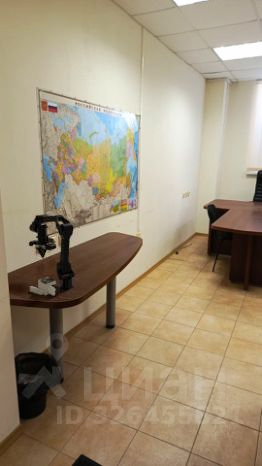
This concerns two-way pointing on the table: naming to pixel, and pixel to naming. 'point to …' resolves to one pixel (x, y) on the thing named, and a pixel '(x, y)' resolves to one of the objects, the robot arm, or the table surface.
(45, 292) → the white stepped block
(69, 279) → the robot arm
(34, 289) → the holder
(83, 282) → the table surface
